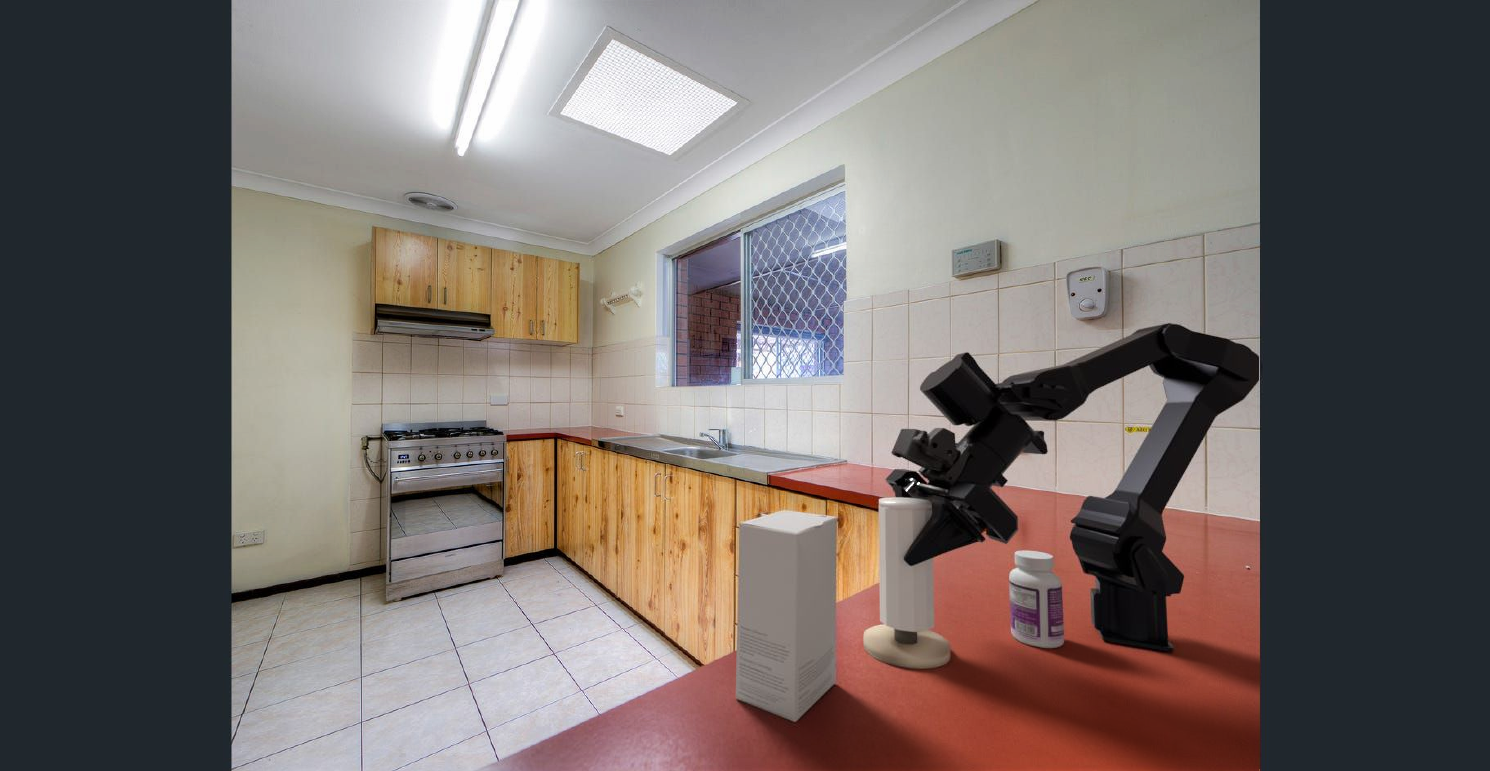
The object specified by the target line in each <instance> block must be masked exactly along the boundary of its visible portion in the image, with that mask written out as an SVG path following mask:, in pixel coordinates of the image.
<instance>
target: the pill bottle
mask: <svg viewBox="0 0 1490 771" xmlns="http://www.w3.org/2000/svg"><path fill="white" fill-rule="evenodd" d="M1054 559H1055V558H1054V556H1053V555H1052V554H1049V553H1046V552H1042V551H1036V550H1016V551H1015V552H1014V563H1015V566H1017V567H1015V568H1013V569H1012V570H1011V571H1010V573H1009V574H1008V575H1009V576H1008V577H1009V578H1008V581H1009V584H1008V585H1009V587H1008V589H1009V612H1010V613H1009V614H1010V615H1009V616H1010V617H1009V618H1010V632H1011V635H1012V636H1013V638H1014V639H1016V641H1018V642H1021V643H1022V644H1025V645H1029V646H1033V647H1038V648H1041V649H1055V648H1059V647H1060V648H1061V646H1063V645H1064V643H1065V629H1064V628H1065V624H1064V603H1063V601H1064V600H1063V598H1064V597H1063V584H1062V580H1061V579H1060V577H1059V576H1058V575H1057V574H1056V573H1055V572H1053V571H1054V568H1055V561H1054Z"/></svg>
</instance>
